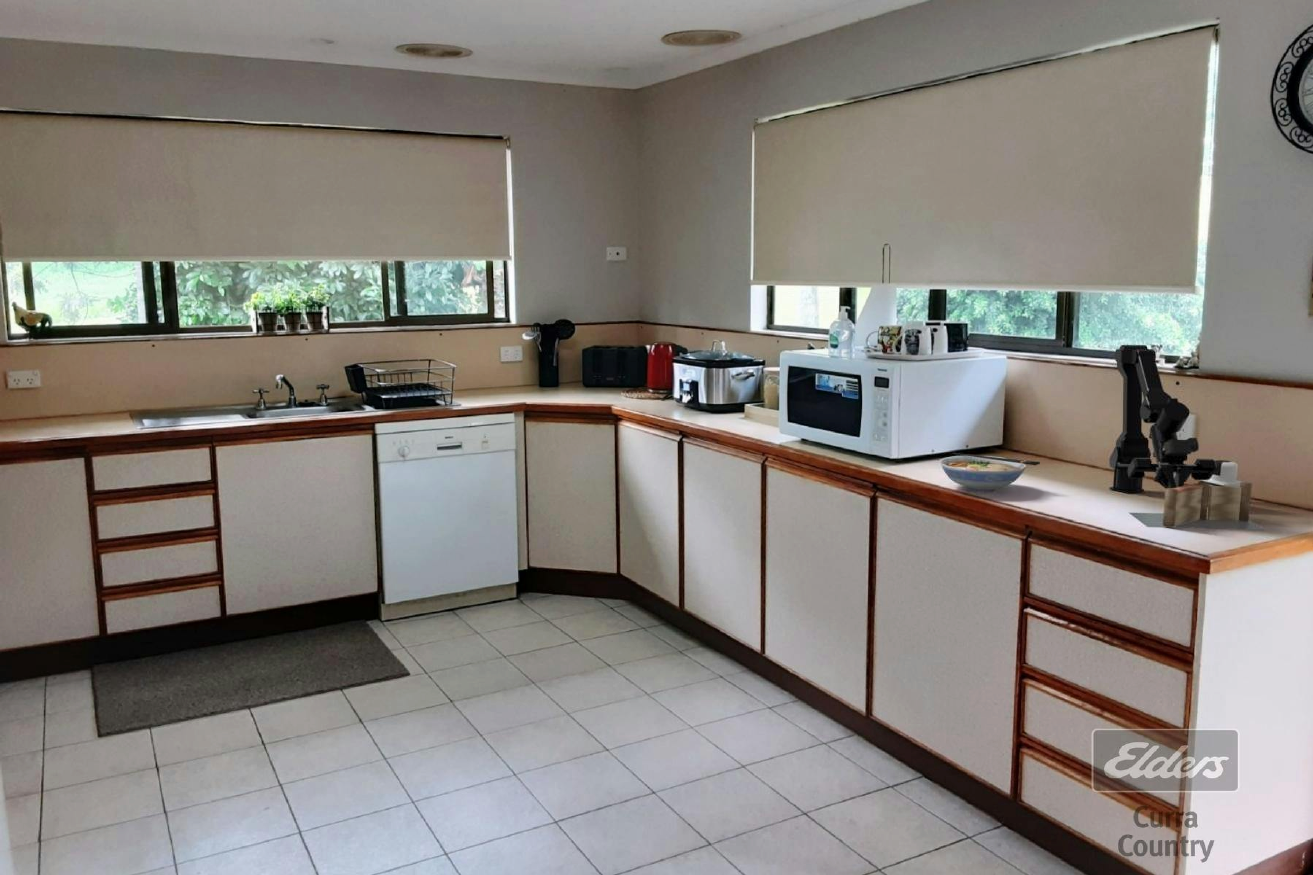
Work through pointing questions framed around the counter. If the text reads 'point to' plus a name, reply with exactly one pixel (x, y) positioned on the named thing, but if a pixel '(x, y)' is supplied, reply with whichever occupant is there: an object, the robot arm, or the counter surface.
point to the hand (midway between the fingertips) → (1178, 499)
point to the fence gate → (1182, 504)
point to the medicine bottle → (1224, 475)
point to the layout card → (1195, 522)
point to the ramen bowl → (983, 471)
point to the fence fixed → (1225, 502)
